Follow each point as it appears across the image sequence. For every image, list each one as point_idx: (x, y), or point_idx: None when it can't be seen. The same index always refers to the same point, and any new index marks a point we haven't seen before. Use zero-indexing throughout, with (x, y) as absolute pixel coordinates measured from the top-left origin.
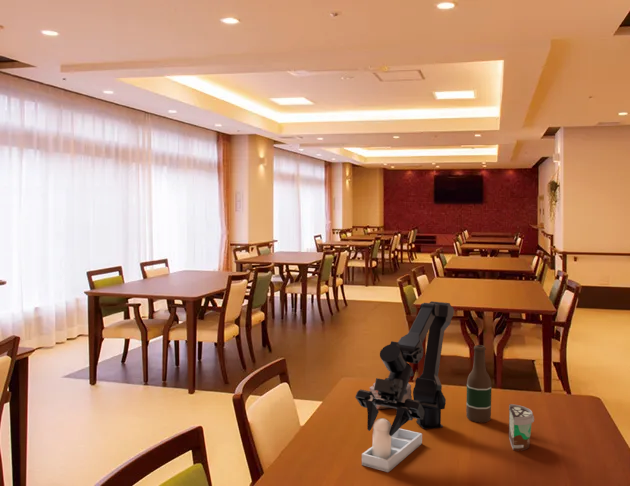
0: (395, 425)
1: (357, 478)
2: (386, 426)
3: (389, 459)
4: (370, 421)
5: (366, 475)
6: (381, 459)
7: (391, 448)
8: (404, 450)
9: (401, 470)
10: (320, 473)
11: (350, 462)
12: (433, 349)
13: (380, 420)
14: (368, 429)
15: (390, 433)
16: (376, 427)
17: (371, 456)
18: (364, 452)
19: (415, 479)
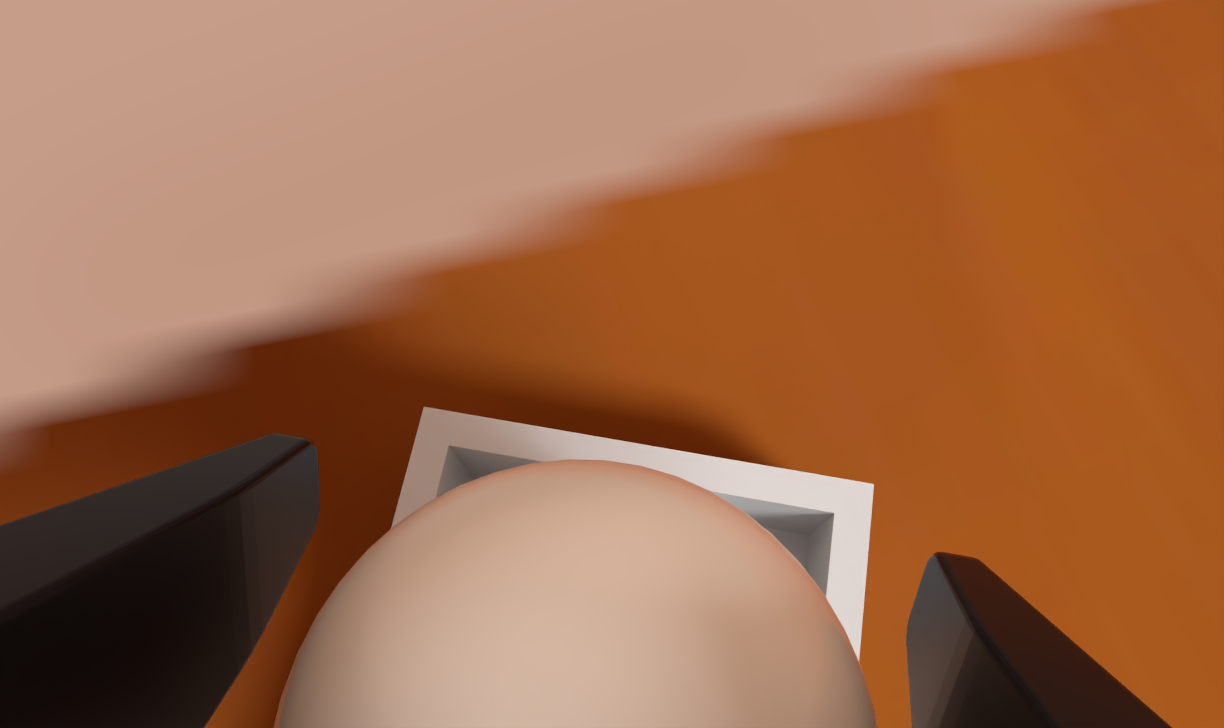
0: (19, 527)
1: (742, 184)
2: (376, 555)
3: (416, 465)
4: (1011, 683)
5: (676, 283)
6: (532, 425)
7: None
8: None
9: (303, 577)
10: (1158, 136)
11: (1004, 537)
12: None
13: (601, 623)
14: (934, 554)
15: (273, 438)
16: (691, 483)
17: (702, 458)
18: (858, 558)
19: (112, 407)
